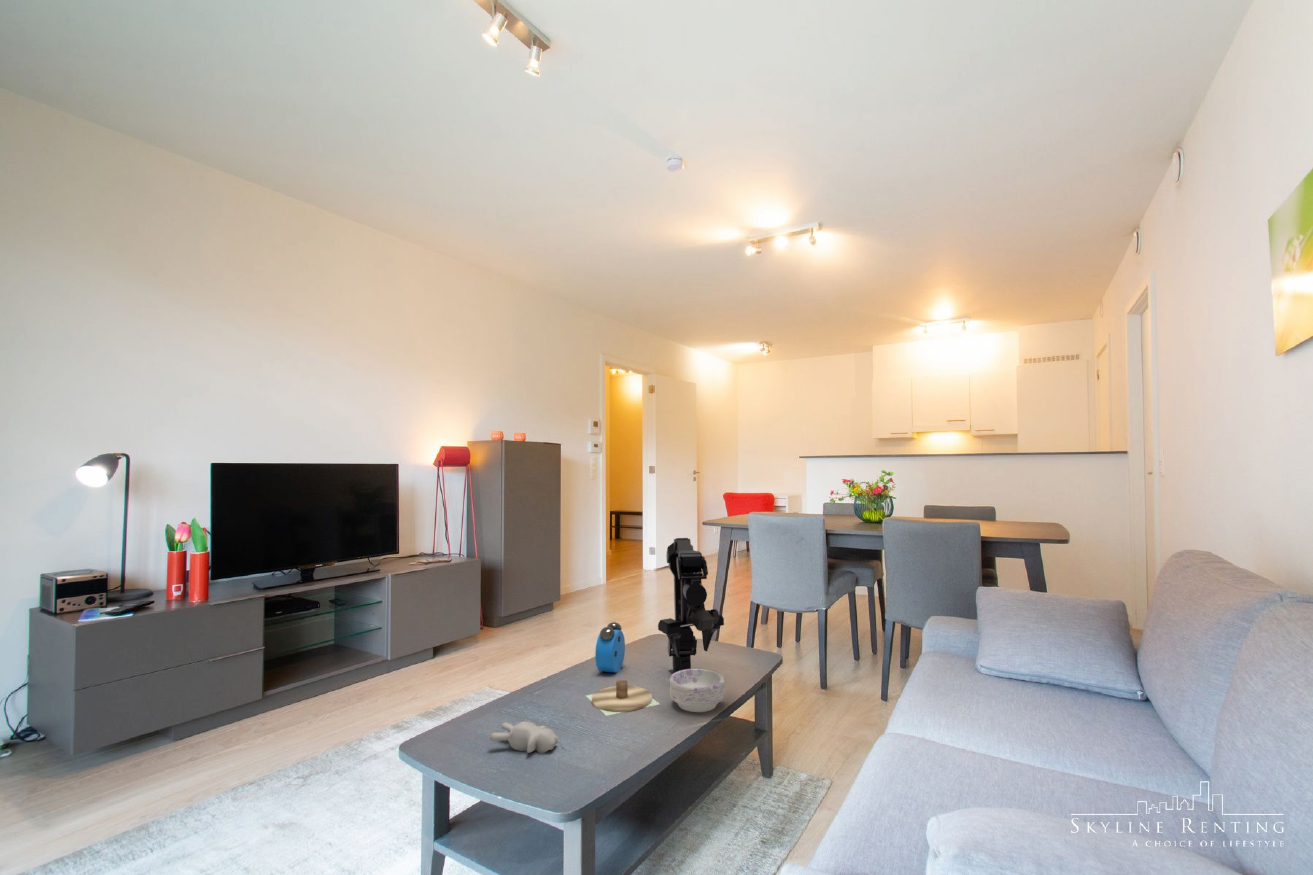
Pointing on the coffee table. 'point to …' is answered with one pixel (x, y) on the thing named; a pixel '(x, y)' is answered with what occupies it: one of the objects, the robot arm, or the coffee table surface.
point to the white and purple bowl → (697, 689)
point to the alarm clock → (610, 648)
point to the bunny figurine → (527, 737)
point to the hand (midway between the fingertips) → (691, 653)
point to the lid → (621, 698)
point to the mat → (621, 712)
